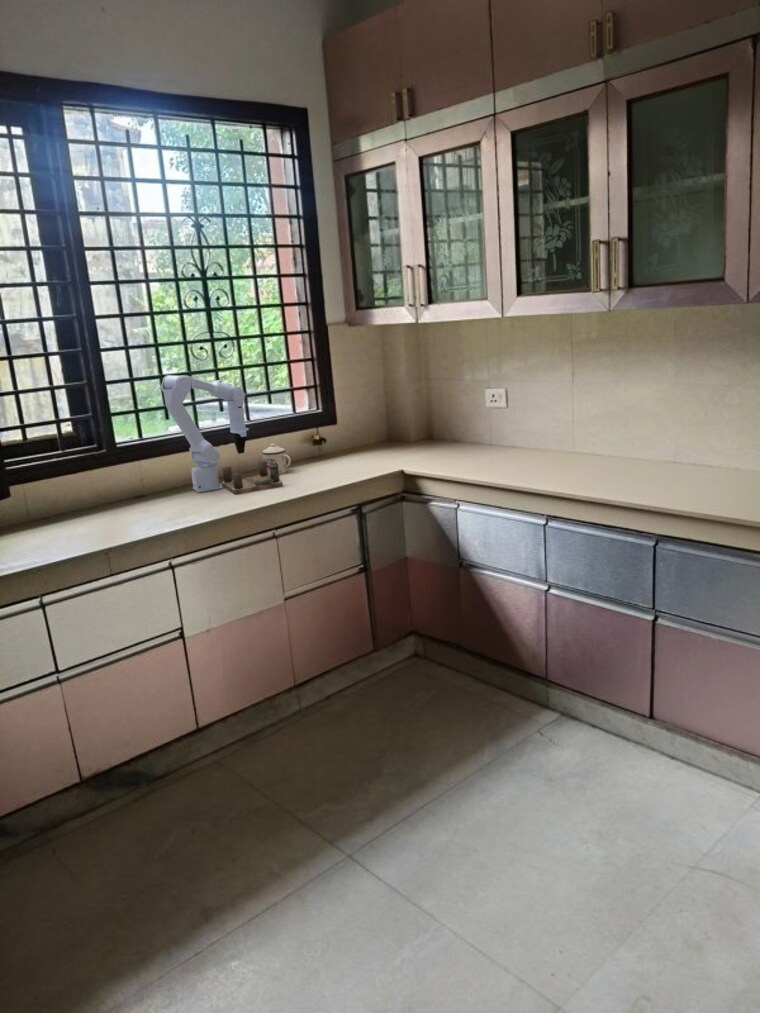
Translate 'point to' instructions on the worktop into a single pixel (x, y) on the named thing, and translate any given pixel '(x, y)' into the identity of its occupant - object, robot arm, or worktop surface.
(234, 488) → the peg board with pegs
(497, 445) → the worktop surface
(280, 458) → the teacup with lid
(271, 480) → the crank handle
